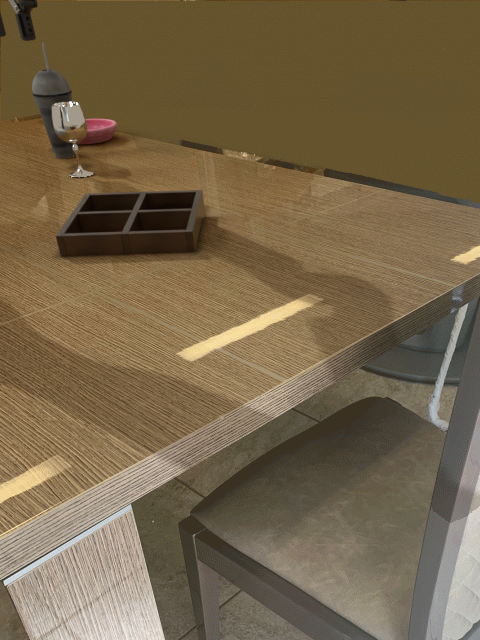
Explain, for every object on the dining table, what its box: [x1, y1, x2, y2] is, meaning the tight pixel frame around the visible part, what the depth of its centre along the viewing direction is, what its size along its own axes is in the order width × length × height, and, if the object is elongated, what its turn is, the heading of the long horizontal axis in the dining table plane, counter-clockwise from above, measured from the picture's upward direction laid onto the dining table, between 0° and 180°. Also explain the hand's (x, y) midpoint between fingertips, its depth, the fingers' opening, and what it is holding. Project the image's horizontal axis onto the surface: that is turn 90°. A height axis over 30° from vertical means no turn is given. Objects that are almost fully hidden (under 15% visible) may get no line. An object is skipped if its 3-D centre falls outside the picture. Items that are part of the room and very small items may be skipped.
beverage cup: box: [31, 42, 78, 159], centre depth 125 cm, size 7×7×20 cm
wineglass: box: [52, 101, 95, 179], centre depth 117 cm, size 6×6×12 cm
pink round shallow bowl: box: [77, 118, 118, 145], centre depth 141 cm, size 12×12×3 cm
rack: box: [55, 189, 206, 258], centre depth 93 cm, size 18×18×4 cm
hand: (14, 38), depth 106 cm, fingers open, 8 cm apart
